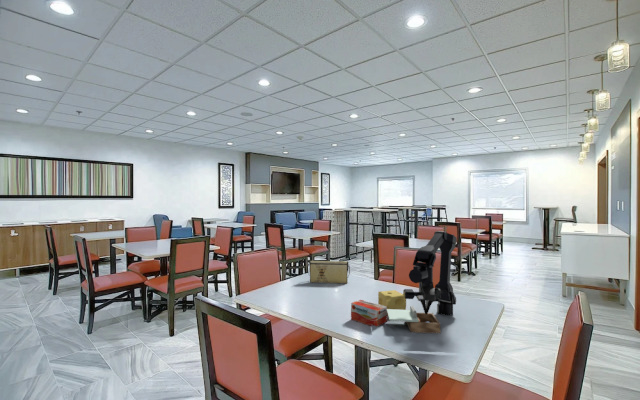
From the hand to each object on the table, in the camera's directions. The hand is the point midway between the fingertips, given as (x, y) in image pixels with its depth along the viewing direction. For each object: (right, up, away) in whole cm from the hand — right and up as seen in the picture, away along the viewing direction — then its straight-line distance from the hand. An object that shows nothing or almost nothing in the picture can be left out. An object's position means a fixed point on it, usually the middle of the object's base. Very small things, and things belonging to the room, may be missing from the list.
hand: (426, 314), depth 133 cm
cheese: (-11, -7, +19) cm, 23 cm away
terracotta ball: (-3, -6, +2) cm, 7 cm away
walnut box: (-2, -6, 0) cm, 7 cm away
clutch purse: (-41, -7, +77) cm, 88 cm away
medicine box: (-24, -7, +8) cm, 26 cm away
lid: (-10, -1, +1) cm, 10 cm away
